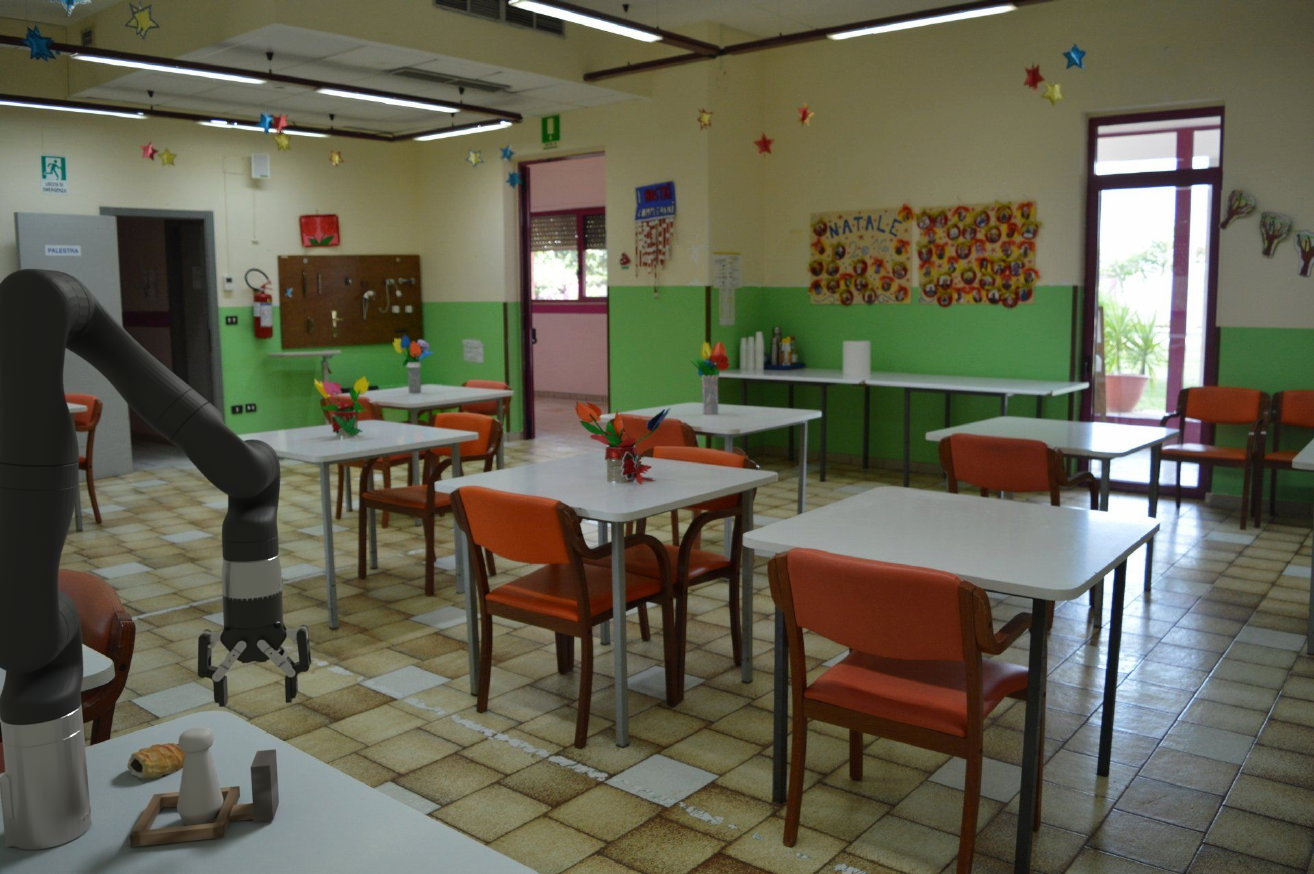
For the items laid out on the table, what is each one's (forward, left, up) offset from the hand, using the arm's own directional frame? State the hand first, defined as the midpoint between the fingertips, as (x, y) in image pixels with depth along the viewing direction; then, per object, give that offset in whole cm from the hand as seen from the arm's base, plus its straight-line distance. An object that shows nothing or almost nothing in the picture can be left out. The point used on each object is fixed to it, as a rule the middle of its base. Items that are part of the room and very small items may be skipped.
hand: (257, 702), depth 137 cm
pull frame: (-7, 0, -16) cm, 18 cm away
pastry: (-18, +18, -17) cm, 31 cm away
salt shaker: (-8, 0, -17) cm, 18 cm away
